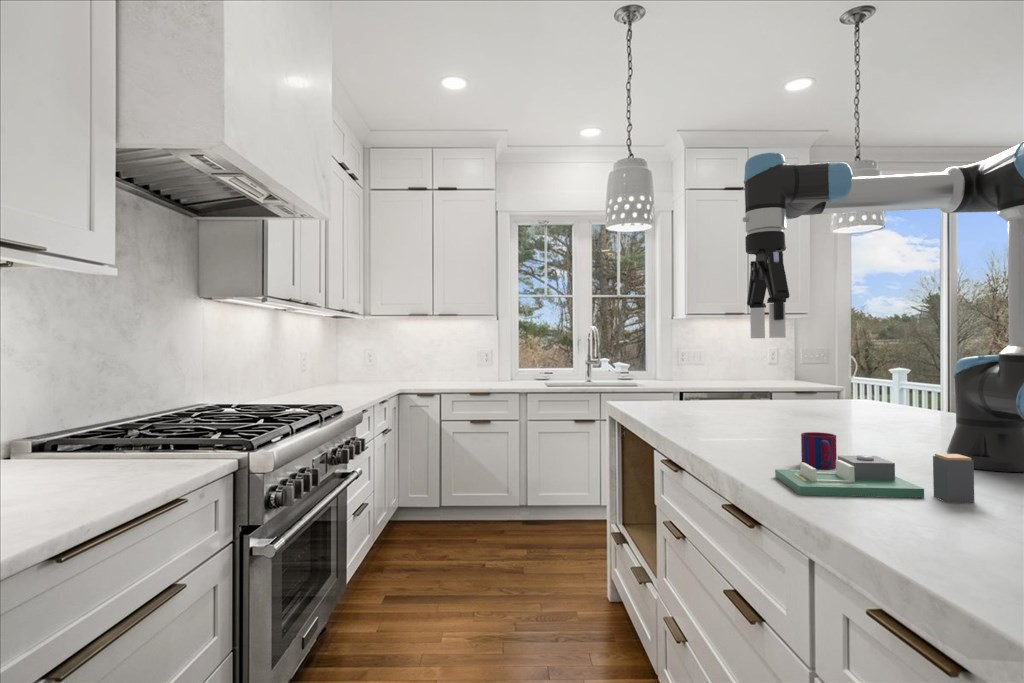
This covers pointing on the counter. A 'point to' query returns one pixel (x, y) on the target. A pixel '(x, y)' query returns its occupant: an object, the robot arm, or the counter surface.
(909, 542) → the counter surface
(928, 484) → the counter surface
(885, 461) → the grey box with tab
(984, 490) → the counter surface
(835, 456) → the mug
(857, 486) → the board
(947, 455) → the grey upright block
